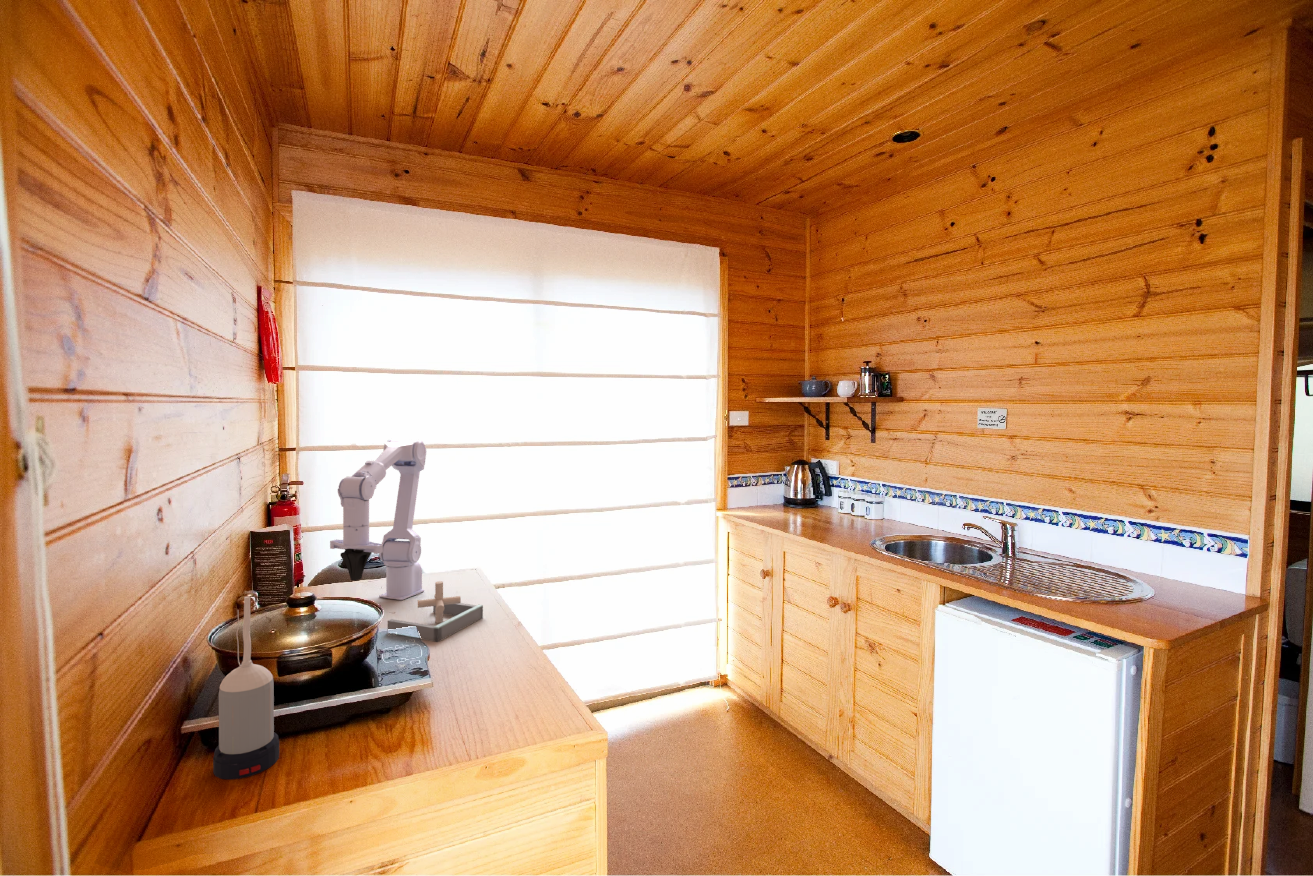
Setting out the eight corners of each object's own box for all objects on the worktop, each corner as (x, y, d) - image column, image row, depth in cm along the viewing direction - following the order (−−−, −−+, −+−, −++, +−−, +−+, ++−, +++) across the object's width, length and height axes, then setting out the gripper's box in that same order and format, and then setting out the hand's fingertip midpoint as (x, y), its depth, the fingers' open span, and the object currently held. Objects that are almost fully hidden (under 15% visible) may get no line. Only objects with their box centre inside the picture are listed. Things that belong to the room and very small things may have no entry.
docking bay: (387, 633, 143) (387, 619, 143) (436, 610, 159) (436, 598, 159) (438, 641, 138) (438, 627, 138) (482, 617, 155) (482, 605, 155)
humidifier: (243, 784, 85) (242, 608, 84) (199, 773, 87) (197, 602, 86) (292, 753, 93) (292, 591, 92) (250, 744, 95) (249, 586, 94)
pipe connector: (462, 626, 149) (462, 586, 148) (418, 631, 145) (418, 590, 144) (458, 612, 158) (458, 574, 157) (417, 617, 154) (417, 578, 153)
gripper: (319, 525, 148) (319, 580, 148) (367, 530, 143) (367, 587, 144) (343, 520, 155) (343, 573, 155) (389, 525, 150) (389, 579, 151)
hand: (356, 579), depth 150 cm, fingers closed
